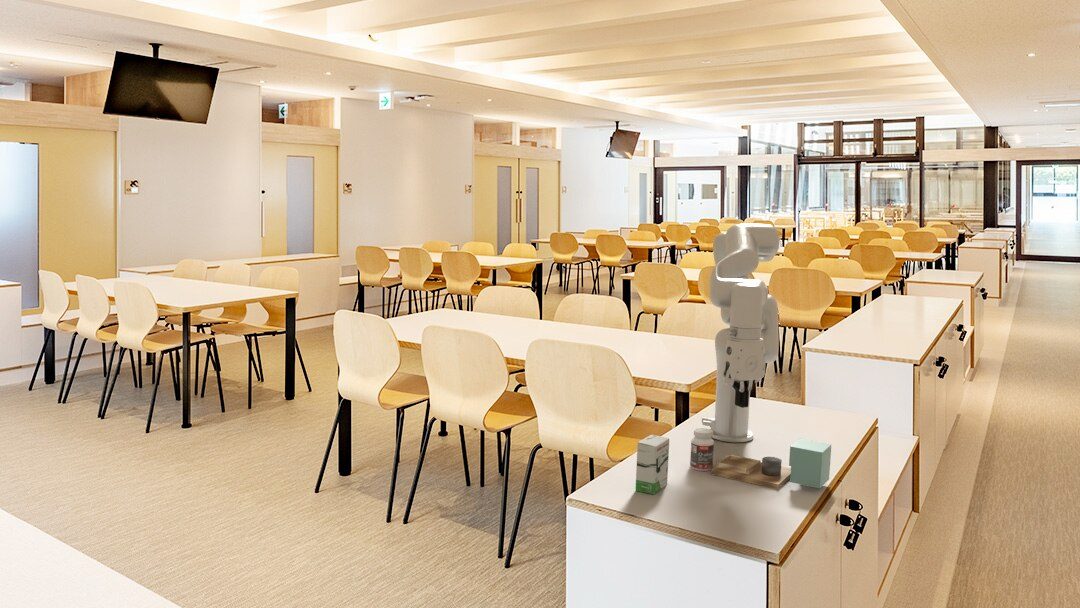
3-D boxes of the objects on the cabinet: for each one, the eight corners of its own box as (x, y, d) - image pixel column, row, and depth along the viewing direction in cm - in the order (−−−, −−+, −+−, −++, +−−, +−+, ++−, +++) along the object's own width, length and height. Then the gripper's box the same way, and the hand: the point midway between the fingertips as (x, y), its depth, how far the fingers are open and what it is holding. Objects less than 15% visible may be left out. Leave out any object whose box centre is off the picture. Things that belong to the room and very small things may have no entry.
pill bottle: (699, 473, 209) (701, 435, 208) (685, 466, 214) (687, 428, 213) (717, 469, 212) (719, 432, 211) (703, 462, 217) (704, 426, 216)
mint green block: (788, 481, 200) (790, 446, 199) (797, 472, 206) (800, 438, 205) (820, 488, 196) (822, 452, 195) (829, 479, 202) (831, 444, 201)
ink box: (653, 495, 194) (655, 446, 192) (634, 490, 197) (636, 442, 195) (668, 484, 201) (670, 436, 200) (649, 480, 204) (651, 433, 202)
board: (711, 474, 209) (712, 456, 208) (730, 460, 219) (731, 443, 218) (778, 489, 199) (779, 470, 198) (795, 473, 210) (796, 455, 209)
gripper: (731, 338, 197) (727, 413, 200) (779, 333, 204) (774, 406, 207) (711, 333, 204) (707, 405, 207) (757, 328, 211) (754, 399, 213)
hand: (741, 405), depth 207 cm, fingers closed
